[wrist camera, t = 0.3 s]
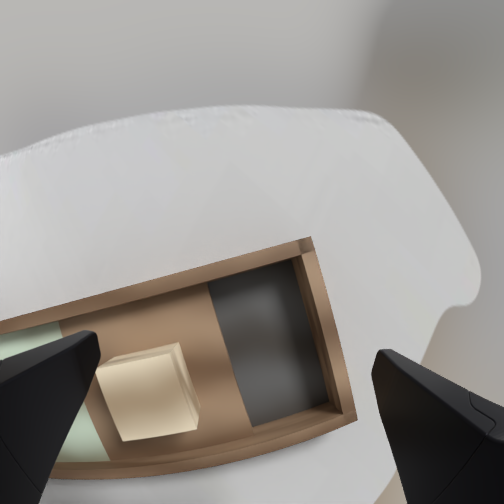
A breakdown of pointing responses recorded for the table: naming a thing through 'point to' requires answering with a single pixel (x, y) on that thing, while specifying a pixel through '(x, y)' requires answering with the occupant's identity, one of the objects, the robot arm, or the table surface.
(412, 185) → the table surface
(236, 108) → the table surface
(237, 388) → the tray
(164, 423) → the beech block
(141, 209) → the table surface
